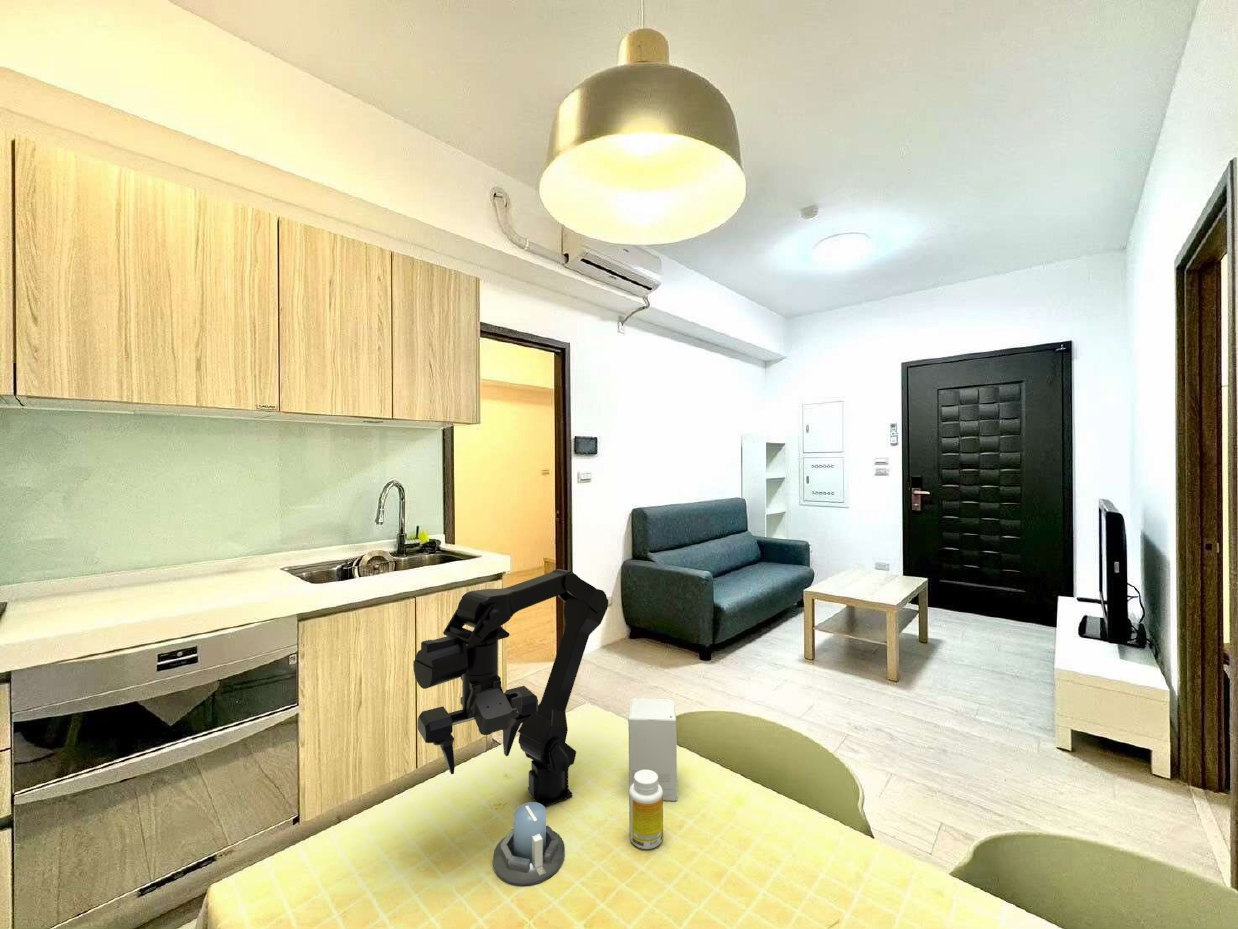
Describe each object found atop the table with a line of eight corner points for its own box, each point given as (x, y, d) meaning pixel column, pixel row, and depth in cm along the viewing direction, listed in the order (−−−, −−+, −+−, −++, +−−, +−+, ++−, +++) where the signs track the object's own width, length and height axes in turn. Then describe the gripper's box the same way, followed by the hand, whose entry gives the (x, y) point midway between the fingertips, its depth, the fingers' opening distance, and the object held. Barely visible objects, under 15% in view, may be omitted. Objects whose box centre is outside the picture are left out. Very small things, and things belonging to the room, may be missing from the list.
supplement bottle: (668, 846, 82) (668, 782, 82) (636, 855, 80) (636, 789, 80) (654, 823, 87) (654, 763, 87) (624, 831, 85) (624, 770, 85)
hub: (548, 824, 87) (548, 810, 87) (576, 867, 78) (576, 851, 78) (484, 848, 81) (484, 833, 82) (506, 898, 72) (506, 880, 72)
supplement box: (676, 773, 102) (675, 698, 102) (677, 802, 93) (677, 720, 93) (631, 771, 103) (630, 696, 103) (627, 799, 94) (627, 718, 94)
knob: (509, 847, 80) (509, 807, 81) (538, 835, 83) (538, 797, 83) (522, 874, 75) (522, 831, 75) (554, 860, 78) (554, 819, 78)
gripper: (435, 701, 72) (435, 812, 72) (553, 672, 83) (552, 768, 83) (417, 675, 82) (416, 773, 81) (524, 652, 92) (524, 739, 92)
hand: (479, 763), depth 84 cm, fingers open, 9 cm apart
